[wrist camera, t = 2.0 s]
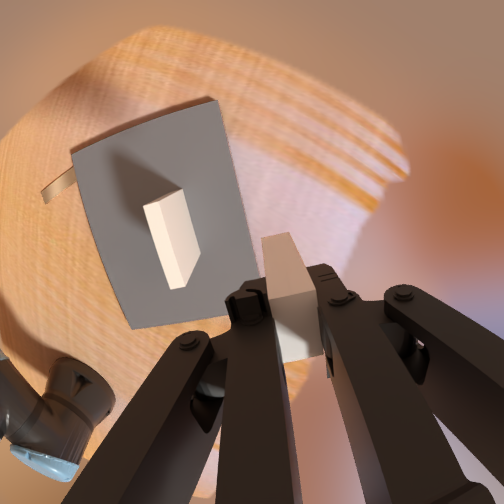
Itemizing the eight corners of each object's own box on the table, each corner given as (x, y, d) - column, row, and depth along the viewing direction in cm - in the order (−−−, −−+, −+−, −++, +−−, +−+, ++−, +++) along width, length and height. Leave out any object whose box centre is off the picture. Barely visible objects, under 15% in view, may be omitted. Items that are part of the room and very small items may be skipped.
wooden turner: (54, 214, 33) (50, 216, 32) (40, 179, 31) (36, 180, 30) (162, 147, 31) (160, 146, 30) (146, 106, 29) (143, 105, 28)
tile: (187, 256, 33) (168, 290, 25) (168, 192, 31) (140, 206, 22) (200, 253, 33) (185, 286, 25) (182, 188, 31) (158, 201, 22)
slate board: (134, 325, 38) (131, 329, 37) (76, 154, 30) (71, 154, 29) (266, 302, 37) (267, 307, 36) (218, 101, 29) (217, 99, 27)
